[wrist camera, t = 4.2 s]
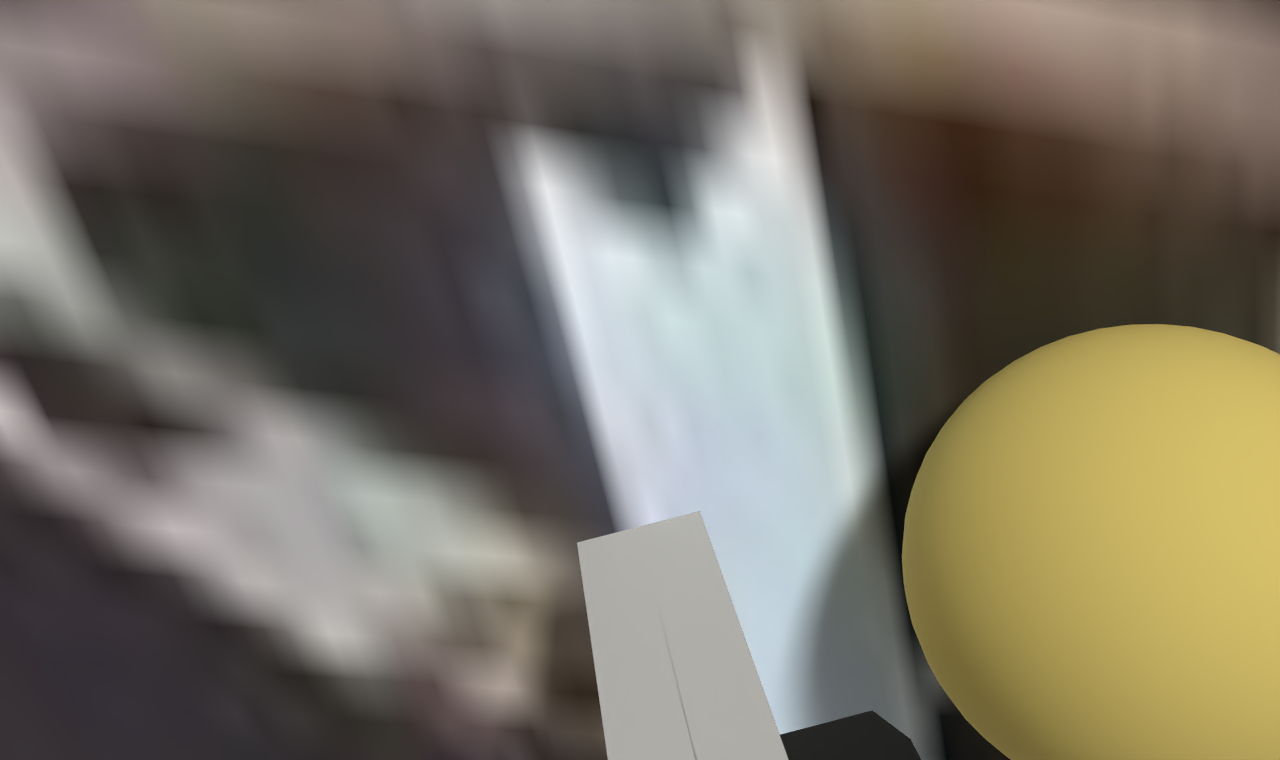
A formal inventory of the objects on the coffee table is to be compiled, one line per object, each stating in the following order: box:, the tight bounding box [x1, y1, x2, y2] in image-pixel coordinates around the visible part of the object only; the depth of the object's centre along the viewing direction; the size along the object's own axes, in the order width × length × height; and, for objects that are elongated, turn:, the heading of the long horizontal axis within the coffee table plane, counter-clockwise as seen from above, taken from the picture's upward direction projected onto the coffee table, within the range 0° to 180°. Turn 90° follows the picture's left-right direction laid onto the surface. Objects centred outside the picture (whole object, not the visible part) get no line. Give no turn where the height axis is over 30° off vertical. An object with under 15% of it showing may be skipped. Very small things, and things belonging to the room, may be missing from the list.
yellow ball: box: [902, 324, 1280, 760], centre depth 14 cm, size 6×6×6 cm
